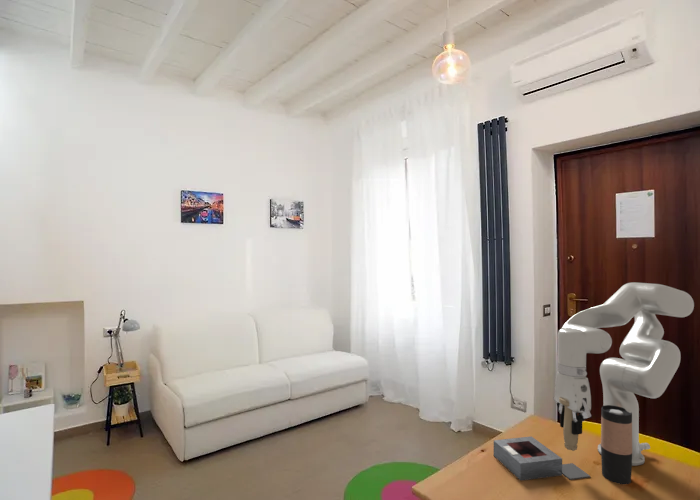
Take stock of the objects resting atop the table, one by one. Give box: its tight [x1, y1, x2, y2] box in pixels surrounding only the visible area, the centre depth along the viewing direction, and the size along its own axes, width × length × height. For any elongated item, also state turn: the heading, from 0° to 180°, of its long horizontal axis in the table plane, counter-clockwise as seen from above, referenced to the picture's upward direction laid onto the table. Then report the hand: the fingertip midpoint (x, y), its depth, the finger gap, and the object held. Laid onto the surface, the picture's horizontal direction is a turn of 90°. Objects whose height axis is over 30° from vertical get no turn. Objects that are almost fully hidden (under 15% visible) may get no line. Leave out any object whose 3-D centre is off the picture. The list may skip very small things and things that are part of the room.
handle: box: [559, 397, 579, 452], centre depth 117 cm, size 5×6×15 cm
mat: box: [562, 462, 591, 481], centre depth 117 cm, size 7×7×1 cm
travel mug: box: [600, 405, 633, 485], centre depth 114 cm, size 8×8×20 cm
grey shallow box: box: [493, 435, 563, 482], centre depth 121 cm, size 14×14×5 cm
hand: (571, 429), depth 117 cm, fingers closed on handle, 3 cm apart
